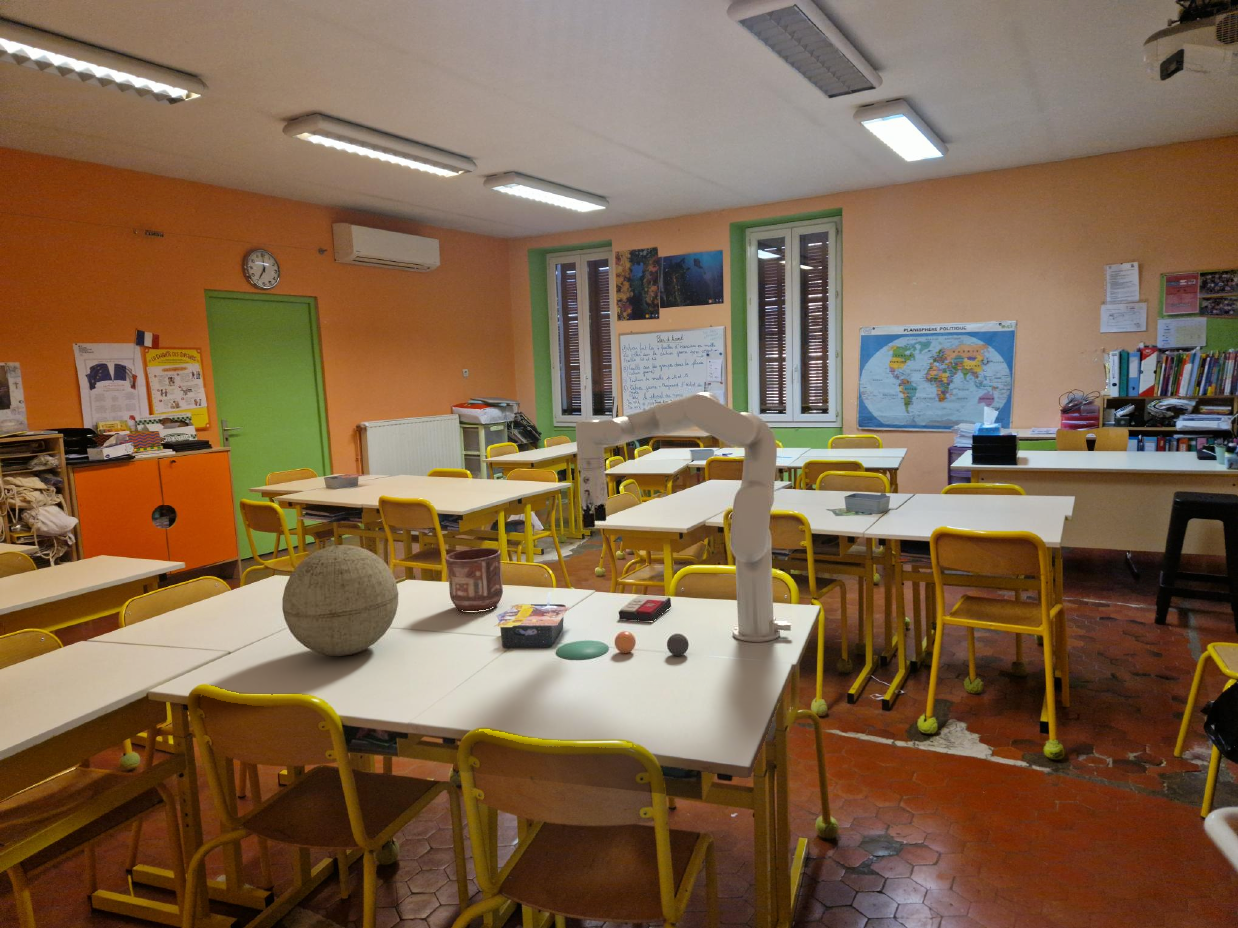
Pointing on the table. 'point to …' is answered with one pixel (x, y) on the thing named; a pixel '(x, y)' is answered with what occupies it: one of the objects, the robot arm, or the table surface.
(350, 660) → the table surface
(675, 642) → the ball
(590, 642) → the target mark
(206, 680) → the table surface
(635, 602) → the calculator
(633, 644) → the ball
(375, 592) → the celestial globe
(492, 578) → the pottery
